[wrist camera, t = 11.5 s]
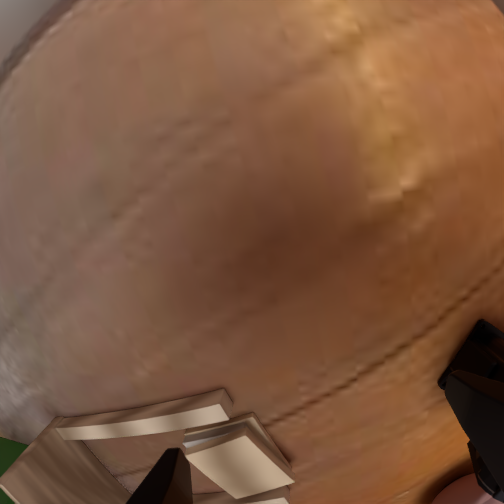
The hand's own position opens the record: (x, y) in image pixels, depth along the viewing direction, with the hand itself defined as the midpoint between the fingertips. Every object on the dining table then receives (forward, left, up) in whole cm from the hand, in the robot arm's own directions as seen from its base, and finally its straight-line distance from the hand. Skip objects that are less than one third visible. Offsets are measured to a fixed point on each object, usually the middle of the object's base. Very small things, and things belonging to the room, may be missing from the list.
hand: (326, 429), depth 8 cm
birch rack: (+3, +21, -12) cm, 25 cm away
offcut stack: (-3, +15, -12) cm, 19 cm away
